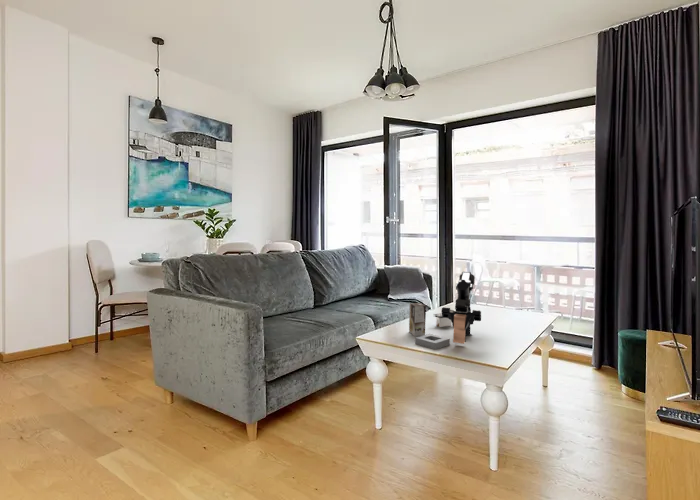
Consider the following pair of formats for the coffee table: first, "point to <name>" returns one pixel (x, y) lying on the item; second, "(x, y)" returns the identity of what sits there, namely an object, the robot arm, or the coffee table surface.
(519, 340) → the coffee table surface
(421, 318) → the coffee box
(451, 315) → the robot arm
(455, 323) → the peg
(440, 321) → the architectural model
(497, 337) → the coffee table surface
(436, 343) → the socket block
